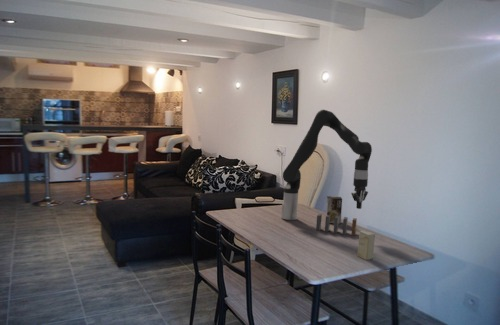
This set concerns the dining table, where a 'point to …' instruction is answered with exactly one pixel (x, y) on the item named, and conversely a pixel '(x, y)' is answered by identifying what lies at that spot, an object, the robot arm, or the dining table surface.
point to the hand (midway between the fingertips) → (358, 208)
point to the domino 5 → (354, 226)
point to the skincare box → (366, 245)
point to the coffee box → (334, 208)
